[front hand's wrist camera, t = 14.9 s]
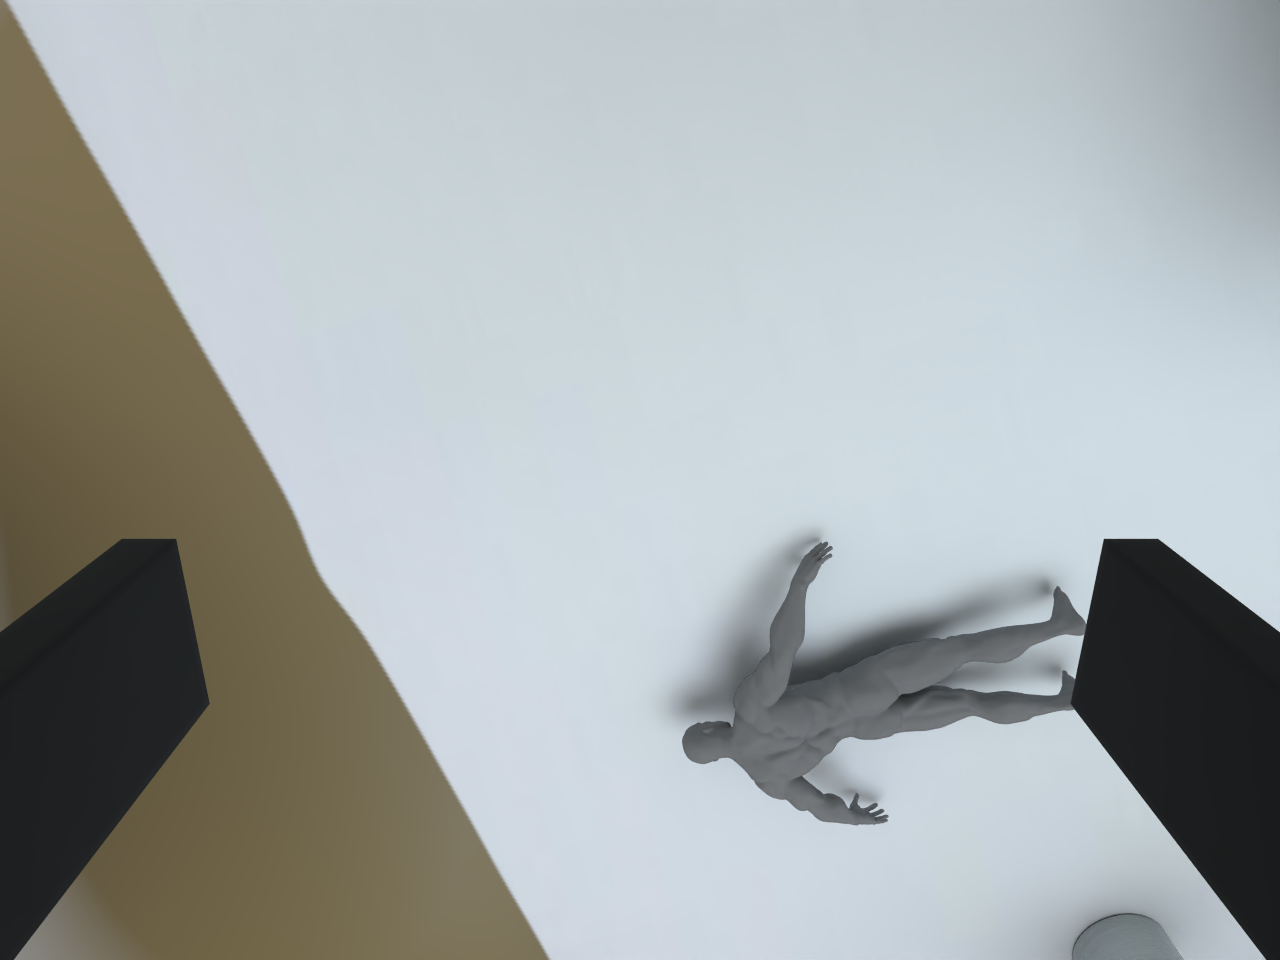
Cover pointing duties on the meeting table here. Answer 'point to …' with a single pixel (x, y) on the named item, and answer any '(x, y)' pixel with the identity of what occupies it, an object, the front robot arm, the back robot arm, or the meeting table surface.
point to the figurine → (863, 700)
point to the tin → (1125, 940)
